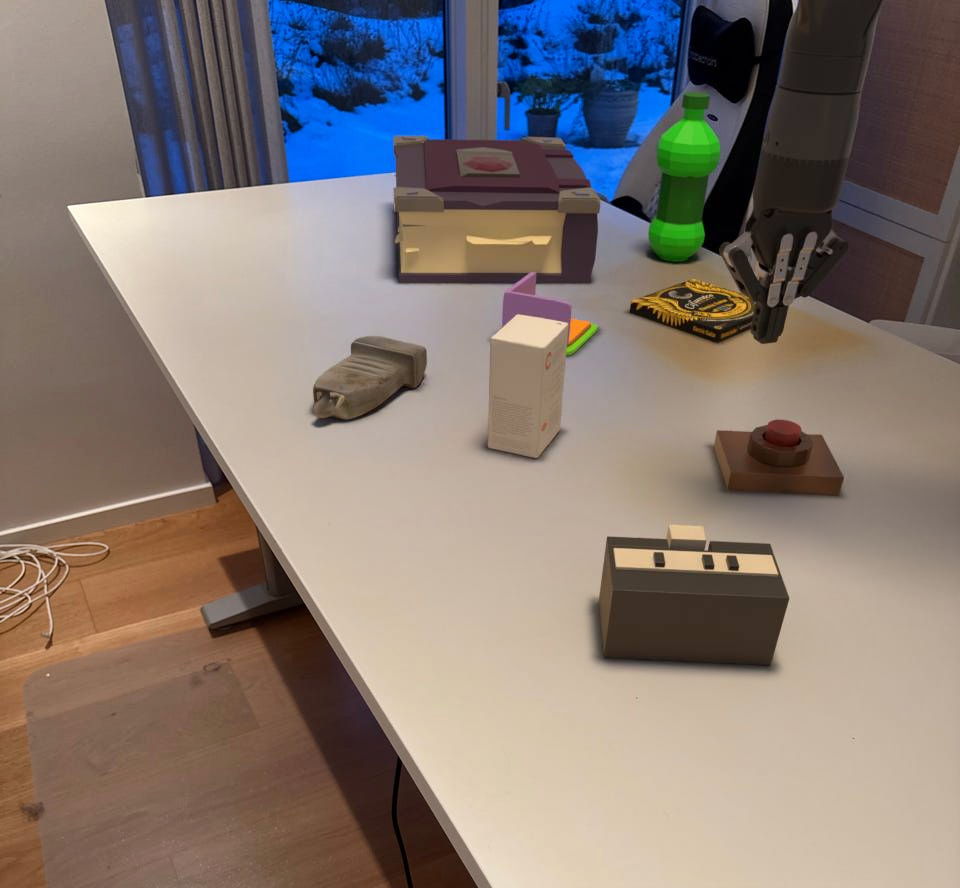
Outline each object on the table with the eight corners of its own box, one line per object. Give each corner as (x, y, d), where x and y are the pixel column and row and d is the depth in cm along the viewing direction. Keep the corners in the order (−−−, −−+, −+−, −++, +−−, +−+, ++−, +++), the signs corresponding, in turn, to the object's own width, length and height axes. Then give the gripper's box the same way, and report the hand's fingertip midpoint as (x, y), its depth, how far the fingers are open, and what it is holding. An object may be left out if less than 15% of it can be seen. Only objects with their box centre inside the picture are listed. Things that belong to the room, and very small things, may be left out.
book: (562, 209, 189) (568, 130, 181) (602, 285, 154) (611, 192, 146) (394, 208, 187) (392, 128, 178) (395, 285, 152) (393, 190, 143)
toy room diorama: (491, 341, 135) (492, 292, 130) (524, 314, 143) (527, 267, 139) (570, 357, 131) (574, 307, 126) (600, 329, 139) (605, 281, 135)
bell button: (793, 434, 106) (797, 420, 105) (801, 449, 103) (804, 434, 102) (761, 433, 106) (764, 418, 105) (767, 448, 103) (771, 433, 102)
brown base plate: (817, 452, 110) (826, 420, 108) (838, 495, 103) (848, 462, 100) (713, 447, 111) (719, 415, 108) (727, 490, 103) (734, 457, 100)
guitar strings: (719, 330, 135) (630, 300, 144) (717, 342, 136) (629, 312, 145) (780, 305, 144) (693, 278, 153) (777, 316, 145) (691, 289, 154)
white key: (698, 548, 85) (703, 525, 83) (702, 563, 83) (706, 539, 82) (664, 547, 85) (668, 524, 83) (667, 561, 83) (671, 538, 82)
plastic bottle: (644, 264, 164) (666, 98, 148) (643, 246, 172) (663, 87, 156) (703, 268, 163) (731, 102, 147) (699, 249, 171) (725, 90, 155)
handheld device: (284, 418, 114) (280, 381, 111) (372, 361, 128) (370, 327, 125) (353, 436, 111) (350, 398, 108) (435, 375, 125) (435, 341, 122)
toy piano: (753, 608, 86) (772, 535, 81) (770, 665, 80) (792, 590, 75) (598, 601, 86) (607, 528, 82) (603, 657, 80) (614, 582, 75)
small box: (511, 420, 115) (516, 312, 107) (561, 430, 113) (570, 321, 105) (485, 448, 109) (488, 336, 101) (537, 460, 107) (545, 347, 99)
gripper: (762, 159, 79) (724, 362, 90) (896, 152, 82) (844, 348, 93) (717, 140, 84) (686, 333, 95) (845, 134, 88) (801, 321, 98)
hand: (764, 340), depth 94 cm, fingers closed
